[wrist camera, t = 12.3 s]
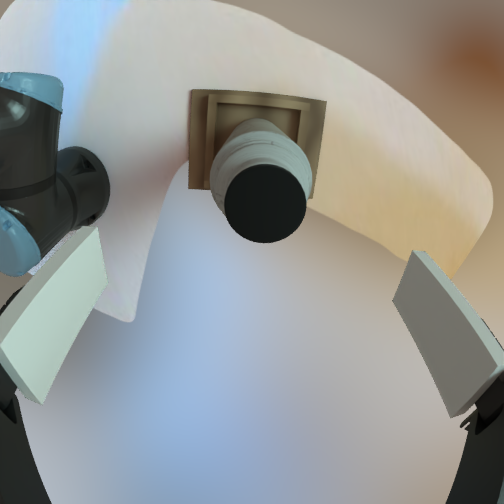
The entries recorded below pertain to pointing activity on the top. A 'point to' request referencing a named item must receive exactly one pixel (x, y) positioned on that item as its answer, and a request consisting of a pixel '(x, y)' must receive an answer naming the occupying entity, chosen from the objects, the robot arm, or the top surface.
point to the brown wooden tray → (243, 108)
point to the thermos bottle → (261, 181)
